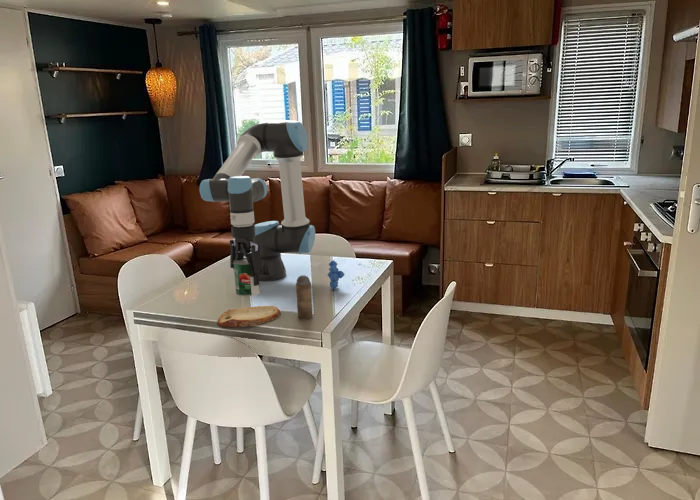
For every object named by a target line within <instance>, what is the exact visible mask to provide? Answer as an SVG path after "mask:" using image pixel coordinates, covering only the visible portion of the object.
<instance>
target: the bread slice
mask: <svg viewBox="0 0 700 500" xmlns="http://www.w3.org/2000/svg"><path fill="white" fill-rule="evenodd" d="M281 313H282V312H281V309H280V308H278V307H277V306H274V305H260V306H259V305H258V306H250V307H249V306H248V307H240V308H233V309H231V308H230V309H228V310H227V311H224V312H223V313H222V314H221V315H220V316H219V317H218V320H217V322H216V325H217V326H219V327H222V328H247V327H253V326H256V325H255V324H258V325H260V324H259V323H261V324H264V323H263V322H266V321H269V320H271V321H273V320H272V319H274V320H276V319H277V318H279V317H280V316H281ZM279 315H280V316H279ZM278 316H279V317H278ZM276 317H277V318H276ZM275 318H276V319H275ZM269 322H270V321H269ZM266 323H267V322H266Z"/></svg>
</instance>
